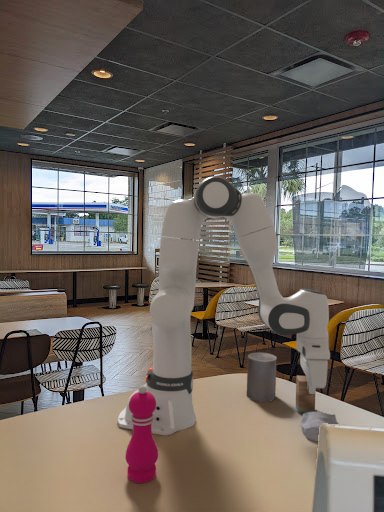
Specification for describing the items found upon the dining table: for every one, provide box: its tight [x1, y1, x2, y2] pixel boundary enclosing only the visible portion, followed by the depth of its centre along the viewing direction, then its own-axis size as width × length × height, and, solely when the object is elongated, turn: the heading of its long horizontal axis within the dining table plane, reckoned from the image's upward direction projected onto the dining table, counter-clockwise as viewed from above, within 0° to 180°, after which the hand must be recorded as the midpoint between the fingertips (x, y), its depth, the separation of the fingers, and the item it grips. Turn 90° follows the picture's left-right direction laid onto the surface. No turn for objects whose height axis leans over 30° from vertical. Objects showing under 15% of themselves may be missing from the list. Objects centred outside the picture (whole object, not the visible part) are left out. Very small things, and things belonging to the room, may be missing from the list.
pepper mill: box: [125, 385, 159, 484], centre depth 86 cm, size 7×7×20 cm
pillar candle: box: [246, 351, 277, 403], centre depth 131 cm, size 10×10×15 cm
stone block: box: [300, 411, 340, 442], centre depth 107 cm, size 12×5×10 cm
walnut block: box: [295, 375, 316, 415], centre depth 120 cm, size 5×5×10 cm
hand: (311, 392), depth 112 cm, fingers closed
